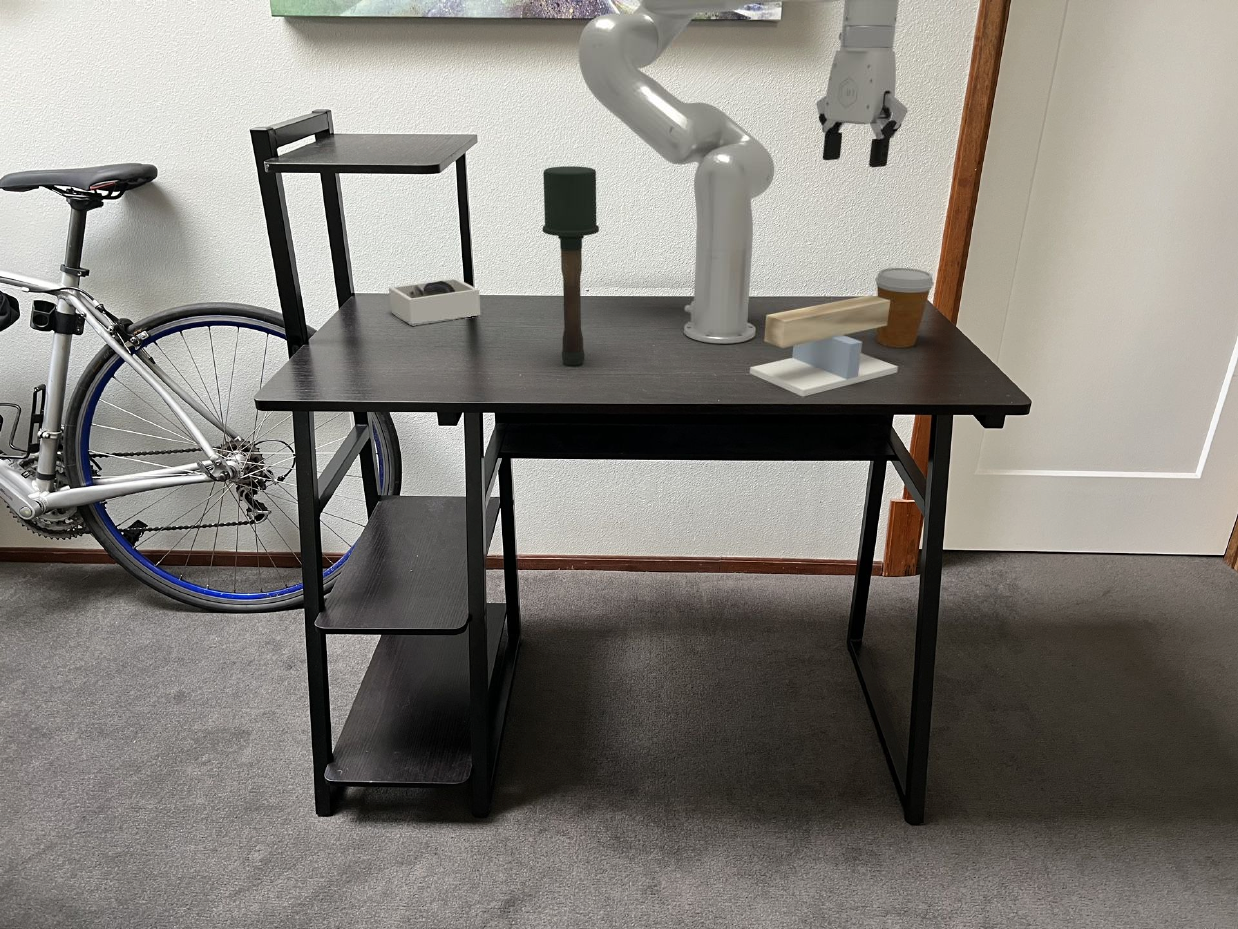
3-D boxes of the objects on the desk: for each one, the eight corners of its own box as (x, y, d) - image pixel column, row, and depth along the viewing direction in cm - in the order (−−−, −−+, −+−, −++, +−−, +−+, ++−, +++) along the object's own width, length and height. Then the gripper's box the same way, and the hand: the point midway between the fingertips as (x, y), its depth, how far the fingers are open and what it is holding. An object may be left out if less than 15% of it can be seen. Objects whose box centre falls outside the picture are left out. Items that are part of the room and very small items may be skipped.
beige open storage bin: (391, 313, 173) (388, 287, 170) (457, 303, 179) (456, 278, 177) (411, 327, 164) (409, 299, 162) (480, 316, 171) (479, 289, 169)
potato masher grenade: (607, 357, 149) (606, 167, 136) (588, 374, 142) (586, 174, 129) (559, 352, 152) (554, 164, 139) (538, 368, 144) (531, 171, 132)
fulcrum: (749, 373, 143) (752, 333, 140) (841, 352, 152) (846, 314, 150) (802, 396, 134) (806, 354, 131) (896, 372, 143) (902, 332, 141)
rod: (764, 341, 136) (766, 315, 135) (868, 319, 147) (871, 294, 145) (782, 348, 133) (784, 321, 132) (886, 325, 144) (890, 300, 142)
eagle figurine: (410, 315, 166) (458, 305, 167) (402, 278, 167) (451, 268, 167) (419, 327, 174) (465, 317, 174) (411, 291, 175) (457, 282, 175)
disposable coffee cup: (856, 338, 160) (864, 270, 155) (899, 331, 163) (908, 264, 158) (891, 353, 152) (901, 282, 147) (936, 346, 155) (947, 277, 150)
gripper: (806, 39, 137) (796, 158, 145) (895, 40, 124) (879, 171, 131) (842, 40, 141) (831, 155, 148) (932, 40, 128) (914, 167, 135)
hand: (853, 163), depth 140 cm, fingers open, 9 cm apart
